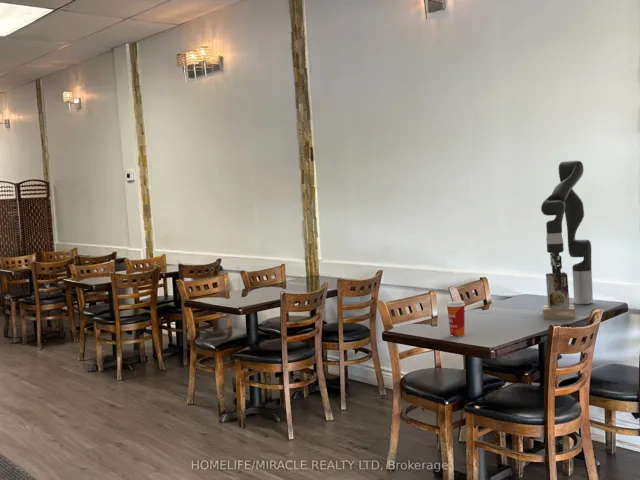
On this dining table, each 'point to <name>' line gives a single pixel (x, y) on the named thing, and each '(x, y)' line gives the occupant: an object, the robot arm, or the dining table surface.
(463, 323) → the coffee cup
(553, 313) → the birch block
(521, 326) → the dining table surface
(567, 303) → the coffee box
